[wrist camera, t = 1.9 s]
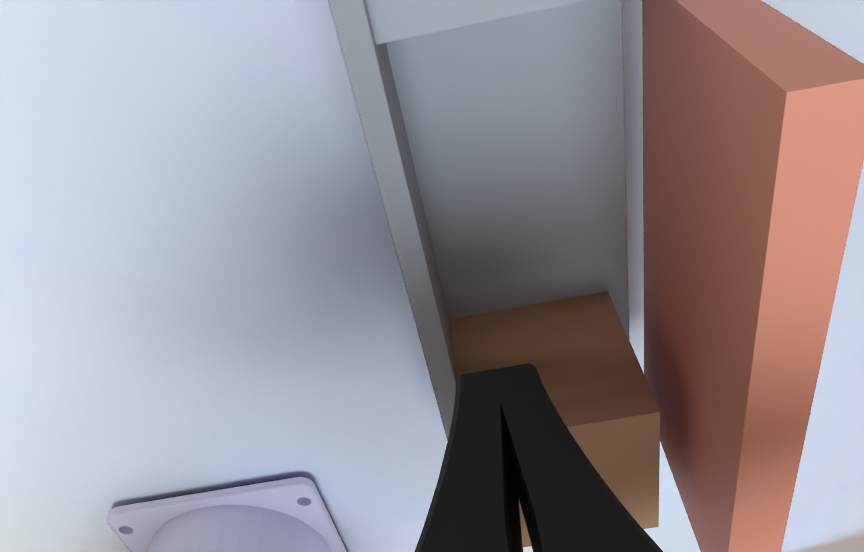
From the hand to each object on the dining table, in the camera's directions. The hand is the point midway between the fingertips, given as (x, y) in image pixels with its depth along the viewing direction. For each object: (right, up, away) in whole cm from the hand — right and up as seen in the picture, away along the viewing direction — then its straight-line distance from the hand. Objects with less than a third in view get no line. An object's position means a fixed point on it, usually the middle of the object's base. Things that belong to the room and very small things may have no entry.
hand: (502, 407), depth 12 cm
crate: (+1, 0, +6) cm, 6 cm away
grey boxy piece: (+1, +5, +6) cm, 8 cm away
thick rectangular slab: (+5, +4, +3) cm, 7 cm away
